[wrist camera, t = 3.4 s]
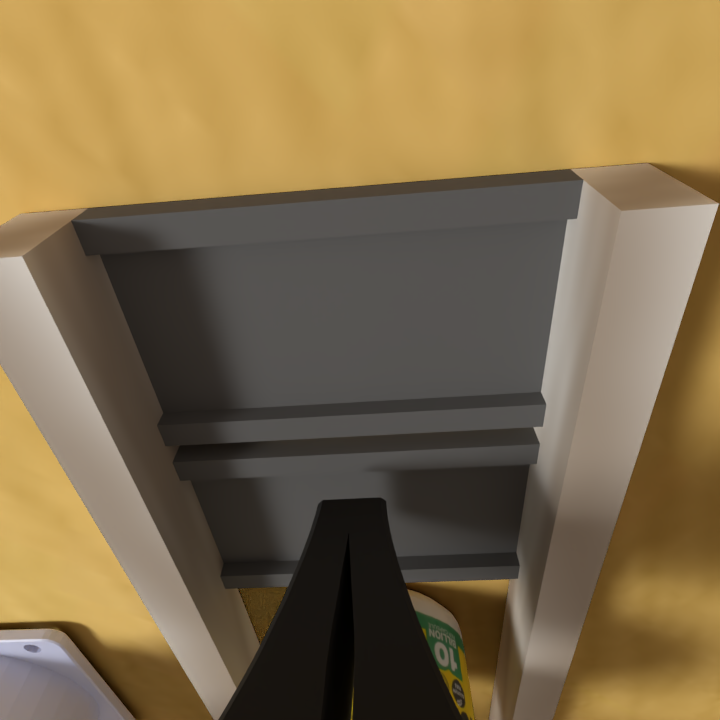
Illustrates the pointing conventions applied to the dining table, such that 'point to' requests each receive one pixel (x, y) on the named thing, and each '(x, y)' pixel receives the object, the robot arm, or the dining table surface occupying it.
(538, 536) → the box
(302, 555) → the robot arm
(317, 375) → the trap pits
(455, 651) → the supplement bottle
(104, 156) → the dining table surface
